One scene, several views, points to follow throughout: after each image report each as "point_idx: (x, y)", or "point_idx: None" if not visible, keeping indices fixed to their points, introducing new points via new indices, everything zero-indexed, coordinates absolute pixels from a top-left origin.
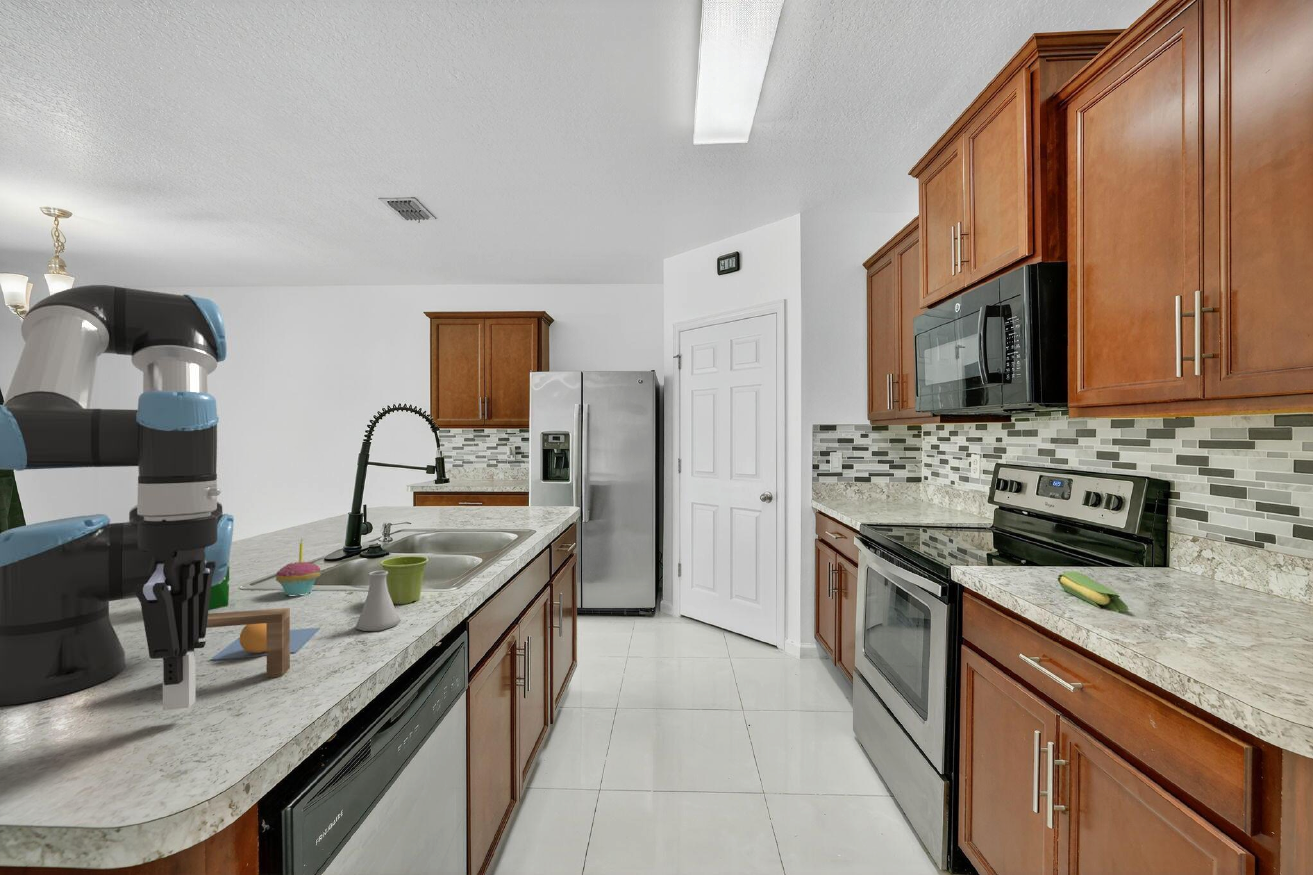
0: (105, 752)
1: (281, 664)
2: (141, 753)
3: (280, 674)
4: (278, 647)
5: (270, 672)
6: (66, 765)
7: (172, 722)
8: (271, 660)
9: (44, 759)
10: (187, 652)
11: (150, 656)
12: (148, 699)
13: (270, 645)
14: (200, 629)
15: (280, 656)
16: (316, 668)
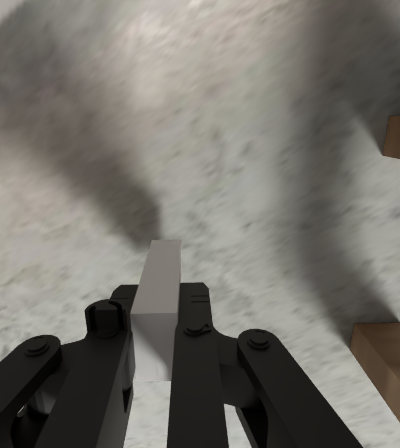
0: (55, 179)
1: (364, 367)
2: (42, 249)
3: (351, 349)
4: (389, 396)
5: (358, 337)
6: (10, 133)
7: (168, 238)
8: (372, 359)
9: (40, 63)
10: (159, 368)
11: (21, 346)
12: (321, 114)
13: (397, 387)
14: (243, 424)
15: (373, 381)
16: (367, 395)
